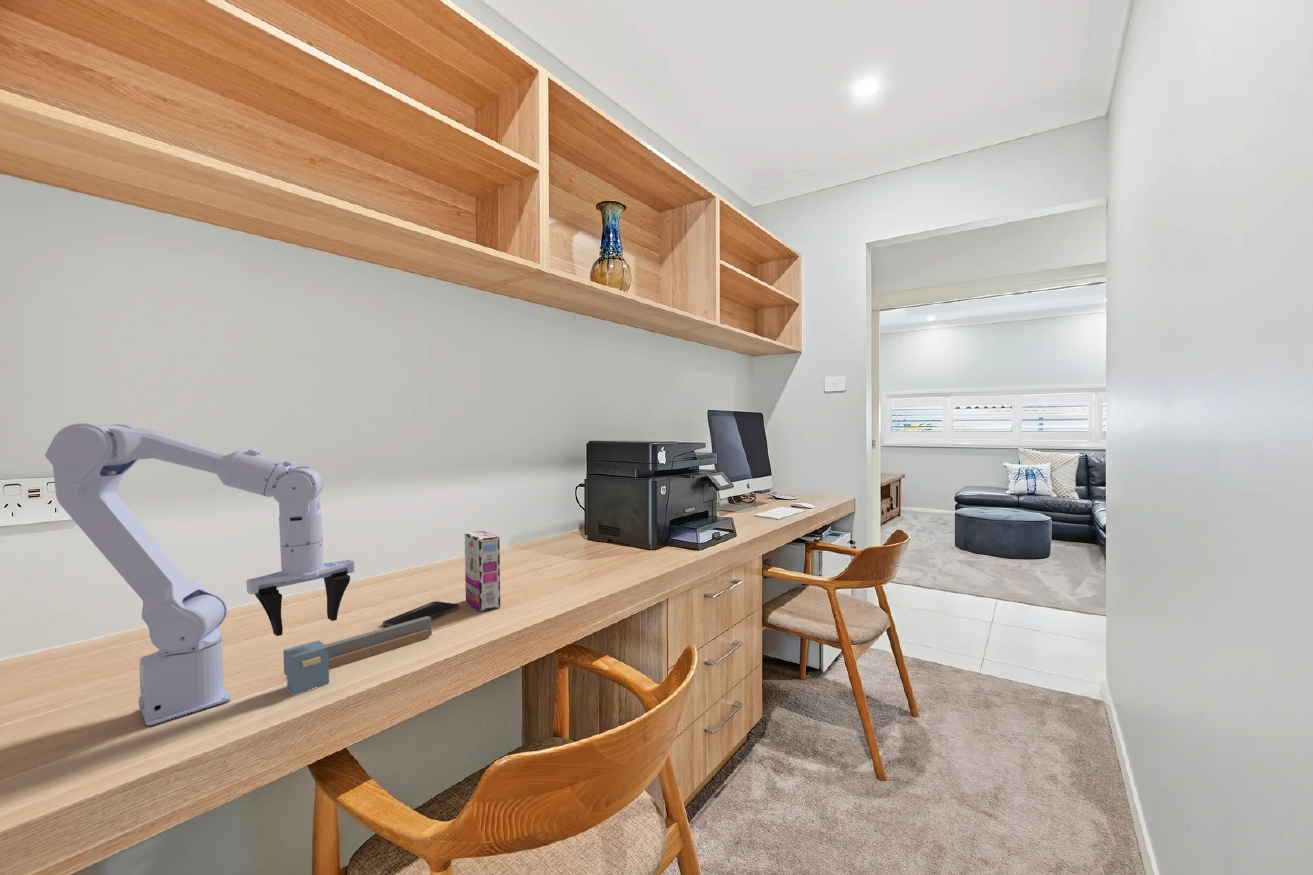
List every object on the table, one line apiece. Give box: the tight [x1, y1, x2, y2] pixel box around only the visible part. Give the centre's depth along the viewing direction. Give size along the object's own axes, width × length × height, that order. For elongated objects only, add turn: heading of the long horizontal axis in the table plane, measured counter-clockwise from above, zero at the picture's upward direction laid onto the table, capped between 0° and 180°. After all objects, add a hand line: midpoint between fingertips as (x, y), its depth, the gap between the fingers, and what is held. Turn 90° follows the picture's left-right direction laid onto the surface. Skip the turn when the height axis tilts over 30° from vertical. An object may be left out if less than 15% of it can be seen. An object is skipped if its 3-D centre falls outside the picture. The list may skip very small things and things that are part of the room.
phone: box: [382, 600, 459, 628], centre depth 118 cm, size 8×1×15 cm
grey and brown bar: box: [325, 616, 433, 670], centre depth 99 cm, size 20×3×4 cm, turn 139°
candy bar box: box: [464, 530, 501, 612], centre depth 126 cm, size 11×5×16 cm, turn 37°
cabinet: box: [282, 640, 330, 696], centre depth 86 cm, size 5×5×6 cm
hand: (306, 626), depth 86 cm, fingers open, 7 cm apart
